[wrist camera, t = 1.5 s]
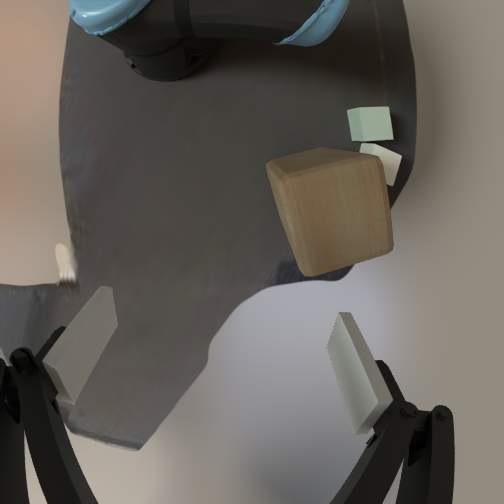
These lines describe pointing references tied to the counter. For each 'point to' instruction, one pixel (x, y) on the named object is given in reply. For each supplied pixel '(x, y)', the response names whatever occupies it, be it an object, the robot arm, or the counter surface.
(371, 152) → the cube cream
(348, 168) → the wooden block
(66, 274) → the counter surface
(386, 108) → the cube sage
